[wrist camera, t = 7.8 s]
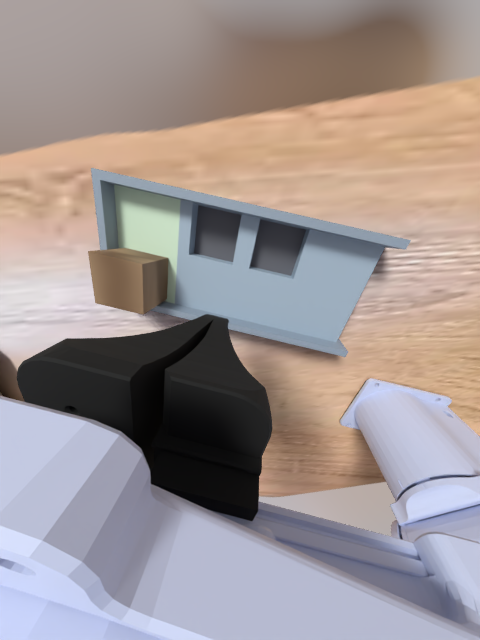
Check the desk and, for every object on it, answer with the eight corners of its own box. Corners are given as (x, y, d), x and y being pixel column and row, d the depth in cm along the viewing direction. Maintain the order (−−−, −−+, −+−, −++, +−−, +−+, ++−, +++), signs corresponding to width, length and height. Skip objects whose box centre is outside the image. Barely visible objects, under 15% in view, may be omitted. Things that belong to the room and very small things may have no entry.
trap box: (385, 239, 16) (410, 240, 13) (334, 340, 20) (345, 357, 17) (120, 179, 16) (90, 167, 13) (127, 291, 20) (106, 299, 18)
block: (168, 257, 17) (142, 264, 13) (167, 299, 18) (143, 314, 15) (125, 247, 17) (87, 251, 13) (128, 289, 18) (95, 303, 15)
